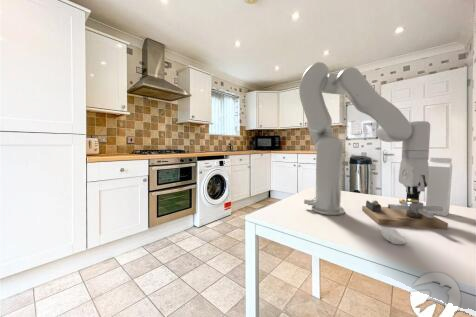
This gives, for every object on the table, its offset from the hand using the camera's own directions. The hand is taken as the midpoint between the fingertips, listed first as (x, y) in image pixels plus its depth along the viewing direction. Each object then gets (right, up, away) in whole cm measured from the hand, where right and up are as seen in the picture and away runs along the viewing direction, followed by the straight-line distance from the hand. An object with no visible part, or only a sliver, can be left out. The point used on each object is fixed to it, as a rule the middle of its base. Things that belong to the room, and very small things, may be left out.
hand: (412, 204), depth 77 cm
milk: (+14, -5, +5) cm, 16 cm away
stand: (-6, -5, -1) cm, 8 cm away
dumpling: (-21, -7, -18) cm, 29 cm away
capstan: (-3, -4, -5) cm, 7 cm away
